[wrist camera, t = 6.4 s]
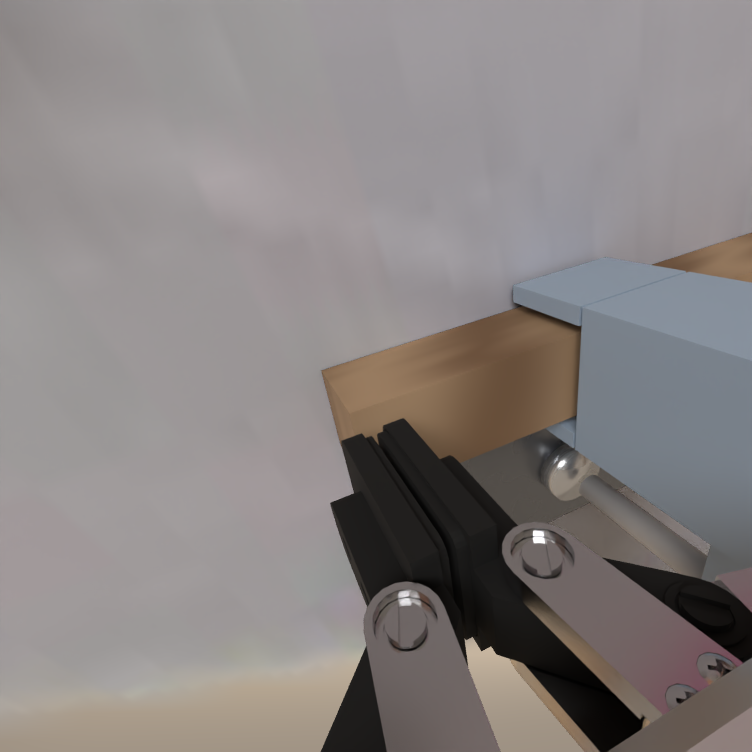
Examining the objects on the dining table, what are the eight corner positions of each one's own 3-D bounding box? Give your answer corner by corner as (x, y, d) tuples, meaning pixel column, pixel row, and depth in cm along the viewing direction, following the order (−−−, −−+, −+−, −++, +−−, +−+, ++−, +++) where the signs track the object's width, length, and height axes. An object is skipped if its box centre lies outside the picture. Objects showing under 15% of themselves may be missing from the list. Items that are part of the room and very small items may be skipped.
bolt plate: (823, 293, 22) (864, 300, 21) (790, 392, 25) (825, 405, 23) (399, 459, 16) (417, 484, 15) (418, 565, 19) (436, 595, 18)
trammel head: (605, 257, 16) (978, 322, 8) (588, 485, 21) (809, 655, 13) (513, 285, 15) (839, 389, 7) (518, 517, 20) (713, 720, 12)
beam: (831, 185, 19) (1264, 185, 11) (768, 396, 24) (1038, 496, 16) (313, 342, 13) (475, 563, 5) (375, 577, 18) (504, 865, 10)
